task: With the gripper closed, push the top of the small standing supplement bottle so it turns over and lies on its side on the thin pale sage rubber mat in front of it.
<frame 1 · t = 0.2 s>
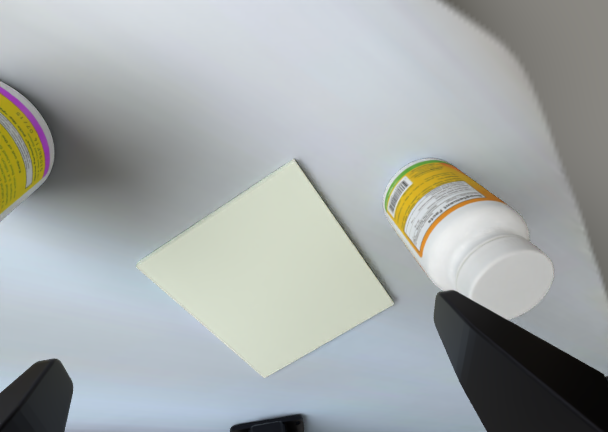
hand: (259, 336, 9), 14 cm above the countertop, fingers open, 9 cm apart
supplement bottle: (418, 193, 25), on the countertop
sage mat: (276, 282, 27), on the countertop
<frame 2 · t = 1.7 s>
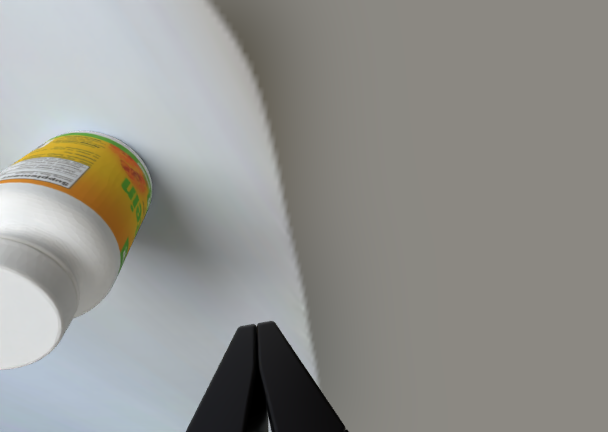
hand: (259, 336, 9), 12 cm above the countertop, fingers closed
supplement bottle: (98, 180, 19), on the countertop
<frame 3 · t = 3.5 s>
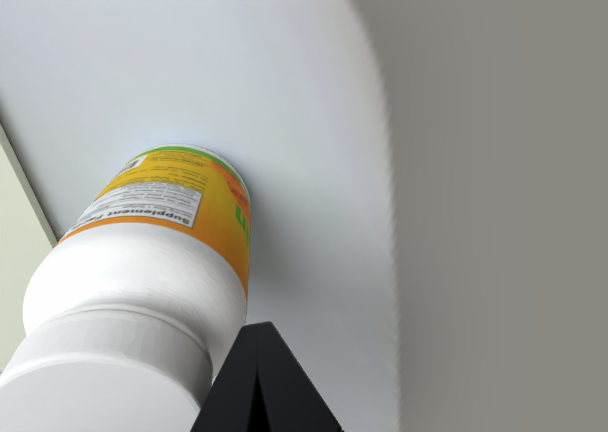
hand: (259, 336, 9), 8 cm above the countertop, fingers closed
supplement bottle: (186, 201, 16), on the countertop, touching gripper
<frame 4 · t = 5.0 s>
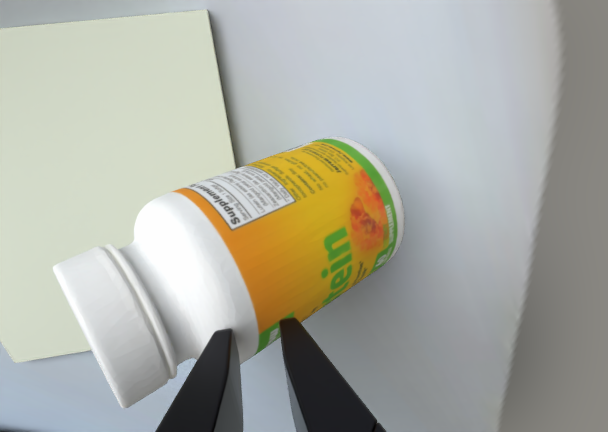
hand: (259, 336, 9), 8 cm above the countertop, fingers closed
supplement bottle: (354, 200, 15), point 2 cm above the countertop, touching gripper
sage mat: (97, 213, 16), on the countertop
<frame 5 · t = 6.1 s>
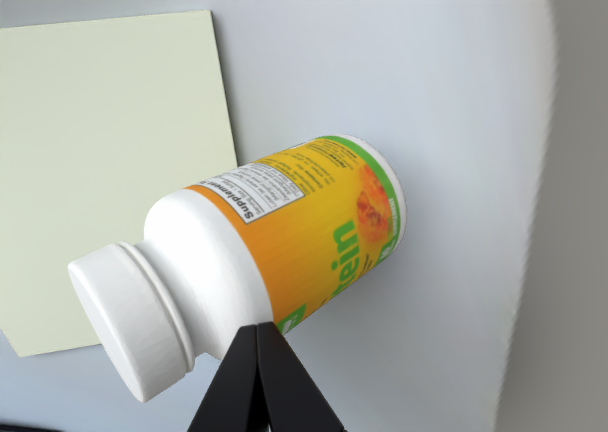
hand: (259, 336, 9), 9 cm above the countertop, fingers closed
supplement bottle: (355, 195, 15), point 2 cm above the countertop
sage mat: (100, 209, 16), on the countertop
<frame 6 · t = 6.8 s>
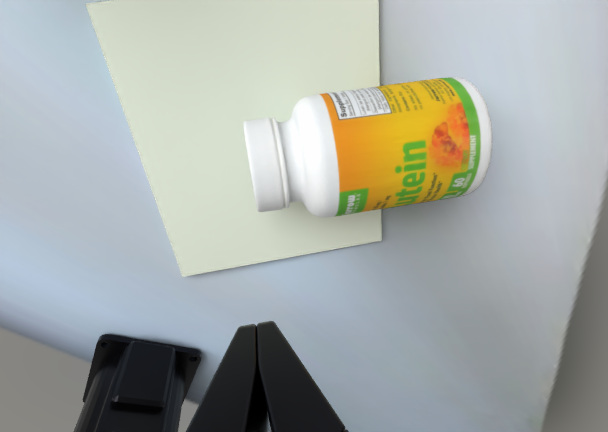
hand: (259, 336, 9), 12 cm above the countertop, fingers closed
supplement bottle: (464, 136, 17), point 3 cm above the countertop, touching sage mat
sage mat: (263, 143, 19), on the countertop
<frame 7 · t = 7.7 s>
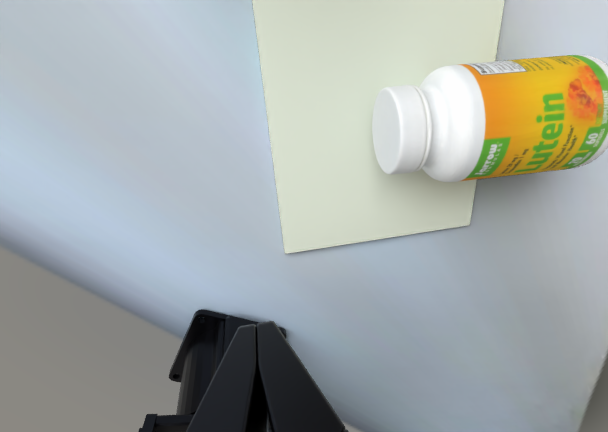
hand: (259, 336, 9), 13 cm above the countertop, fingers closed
supplement bottle: (579, 112, 19), point 3 cm above the countertop, touching sage mat
sage mat: (378, 127, 21), on the countertop
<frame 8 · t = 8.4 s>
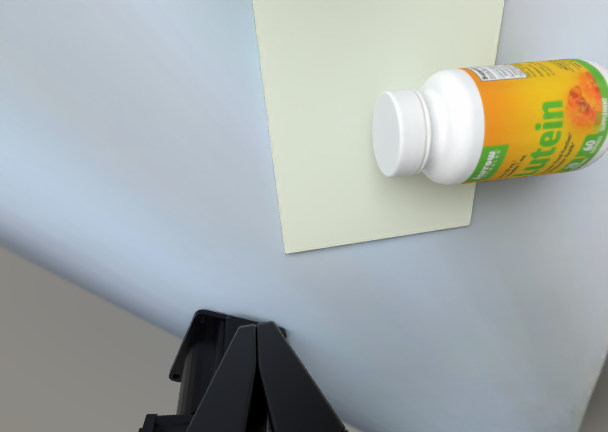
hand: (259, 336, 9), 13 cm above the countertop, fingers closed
supplement bottle: (578, 115, 19), point 3 cm above the countertop, touching sage mat
sage mat: (378, 127, 21), on the countertop
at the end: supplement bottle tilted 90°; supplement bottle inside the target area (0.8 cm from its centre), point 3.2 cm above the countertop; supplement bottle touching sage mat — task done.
